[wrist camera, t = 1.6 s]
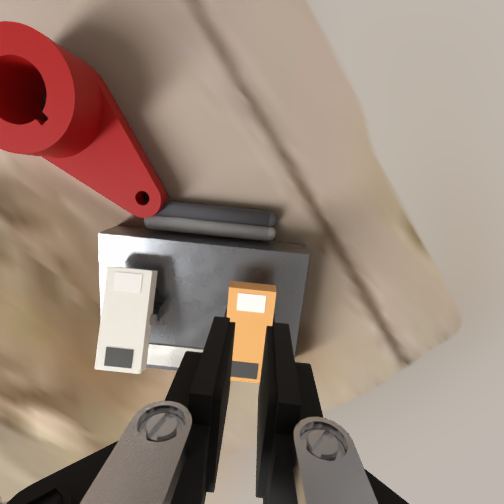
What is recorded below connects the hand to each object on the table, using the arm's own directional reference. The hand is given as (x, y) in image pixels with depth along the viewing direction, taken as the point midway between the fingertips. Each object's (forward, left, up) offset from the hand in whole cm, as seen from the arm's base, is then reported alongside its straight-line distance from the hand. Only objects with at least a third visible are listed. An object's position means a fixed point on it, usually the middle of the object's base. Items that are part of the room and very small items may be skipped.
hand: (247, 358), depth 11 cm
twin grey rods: (-1, -5, -23) cm, 24 cm away
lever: (-7, -17, -23) cm, 29 cm away
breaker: (+8, -11, -17) cm, 21 cm away
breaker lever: (+8, 0, -17) cm, 18 cm away
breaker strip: (+8, -5, -23) cm, 25 cm away
